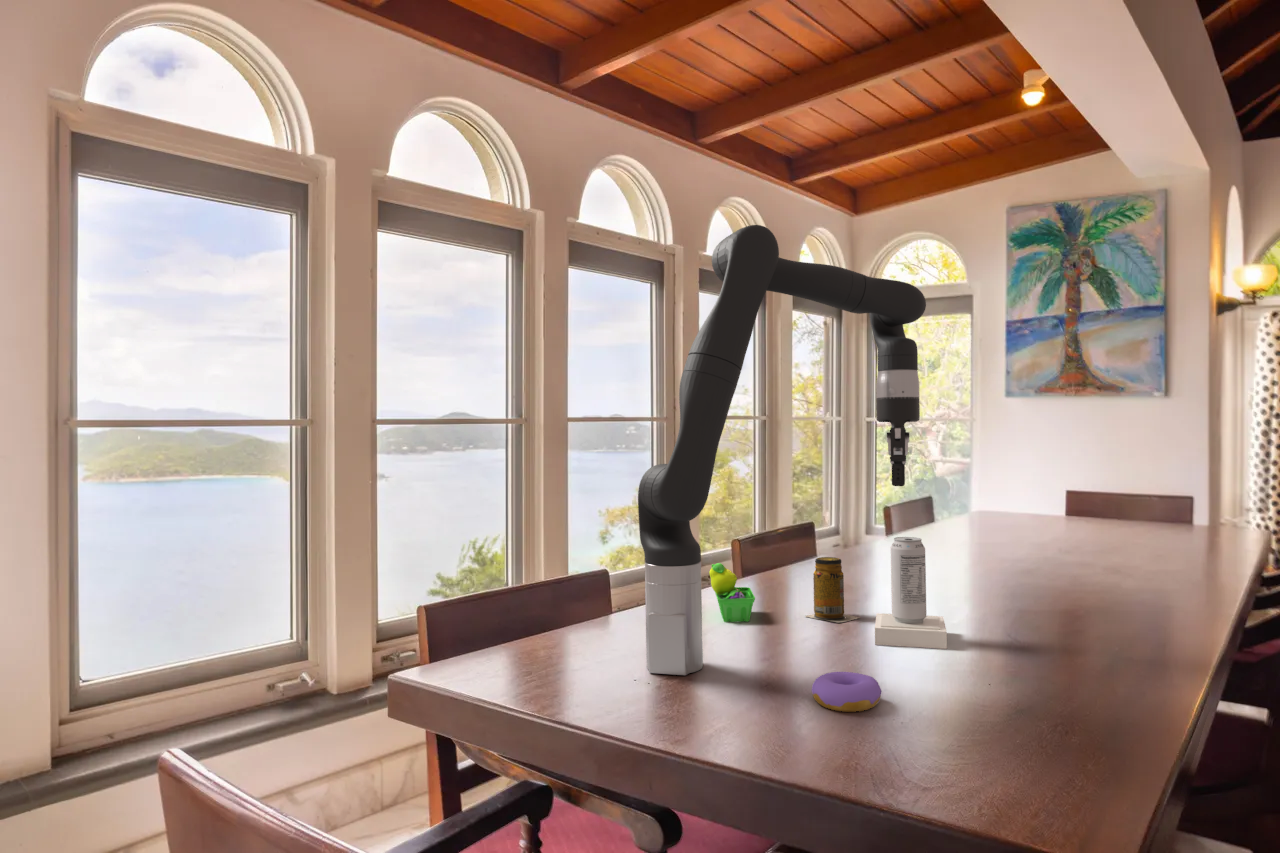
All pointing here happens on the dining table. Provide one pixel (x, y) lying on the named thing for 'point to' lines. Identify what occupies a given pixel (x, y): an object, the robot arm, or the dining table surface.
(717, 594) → the fruit basket
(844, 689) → the donut
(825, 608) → the condiment
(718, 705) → the dining table surface
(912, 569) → the energy drink can
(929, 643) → the beige rectangular box
